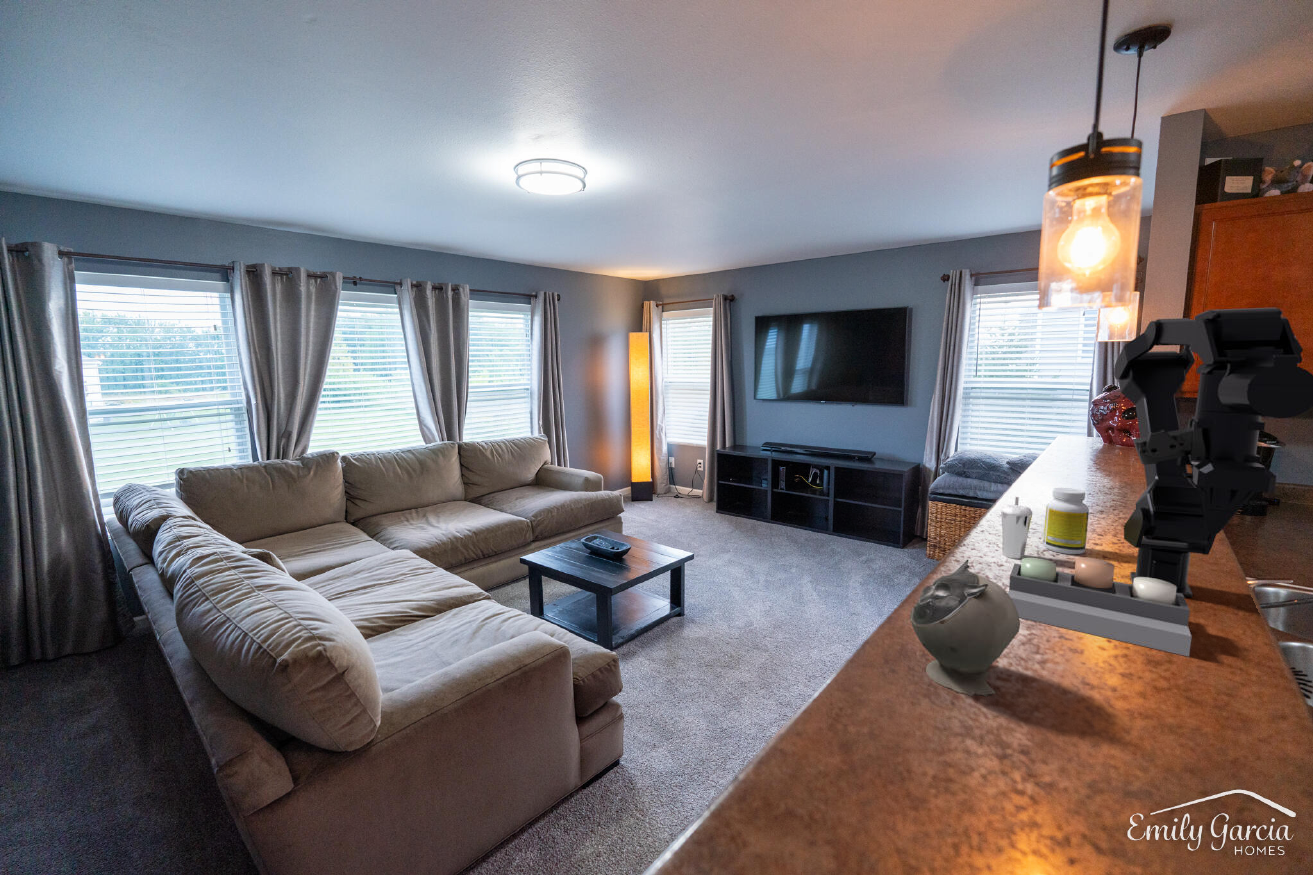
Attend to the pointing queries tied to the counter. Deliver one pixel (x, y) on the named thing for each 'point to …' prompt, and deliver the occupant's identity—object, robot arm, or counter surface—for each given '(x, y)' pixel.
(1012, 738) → the counter surface
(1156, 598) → the button ivory
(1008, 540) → the milkshake
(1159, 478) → the robot arm
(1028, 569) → the button sage
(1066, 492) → the pill bottle
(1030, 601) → the button panel
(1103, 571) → the button terracotta
